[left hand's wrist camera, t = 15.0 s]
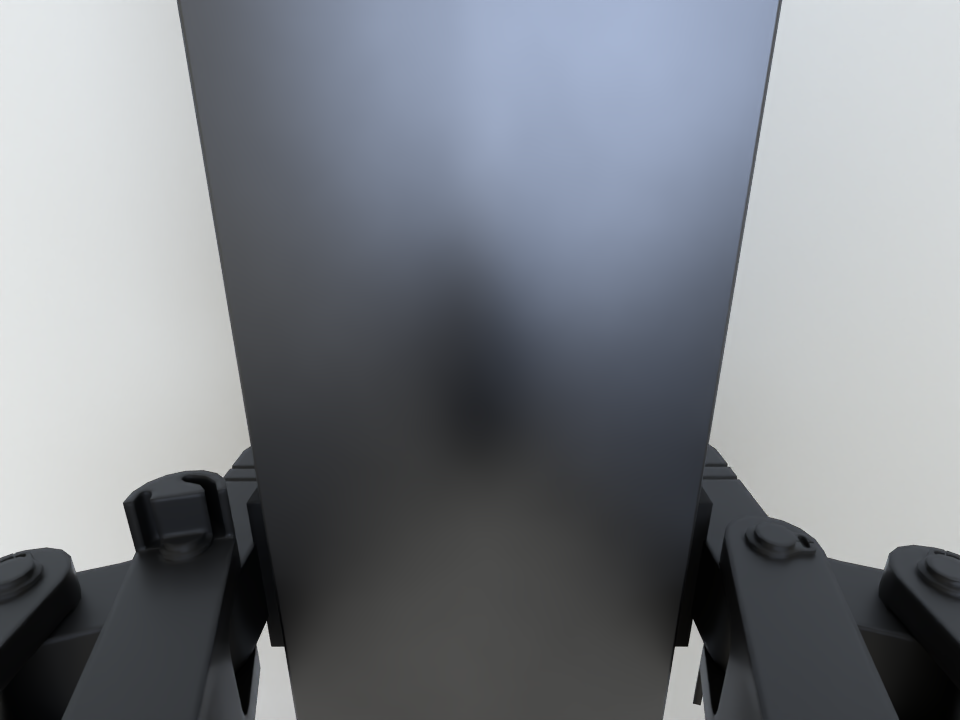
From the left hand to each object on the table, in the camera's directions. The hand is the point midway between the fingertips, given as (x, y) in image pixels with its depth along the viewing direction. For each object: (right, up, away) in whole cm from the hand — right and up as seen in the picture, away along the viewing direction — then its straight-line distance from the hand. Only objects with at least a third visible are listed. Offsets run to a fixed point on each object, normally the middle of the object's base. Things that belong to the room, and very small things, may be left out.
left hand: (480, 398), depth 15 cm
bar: (0, +8, -2) cm, 8 cm away
